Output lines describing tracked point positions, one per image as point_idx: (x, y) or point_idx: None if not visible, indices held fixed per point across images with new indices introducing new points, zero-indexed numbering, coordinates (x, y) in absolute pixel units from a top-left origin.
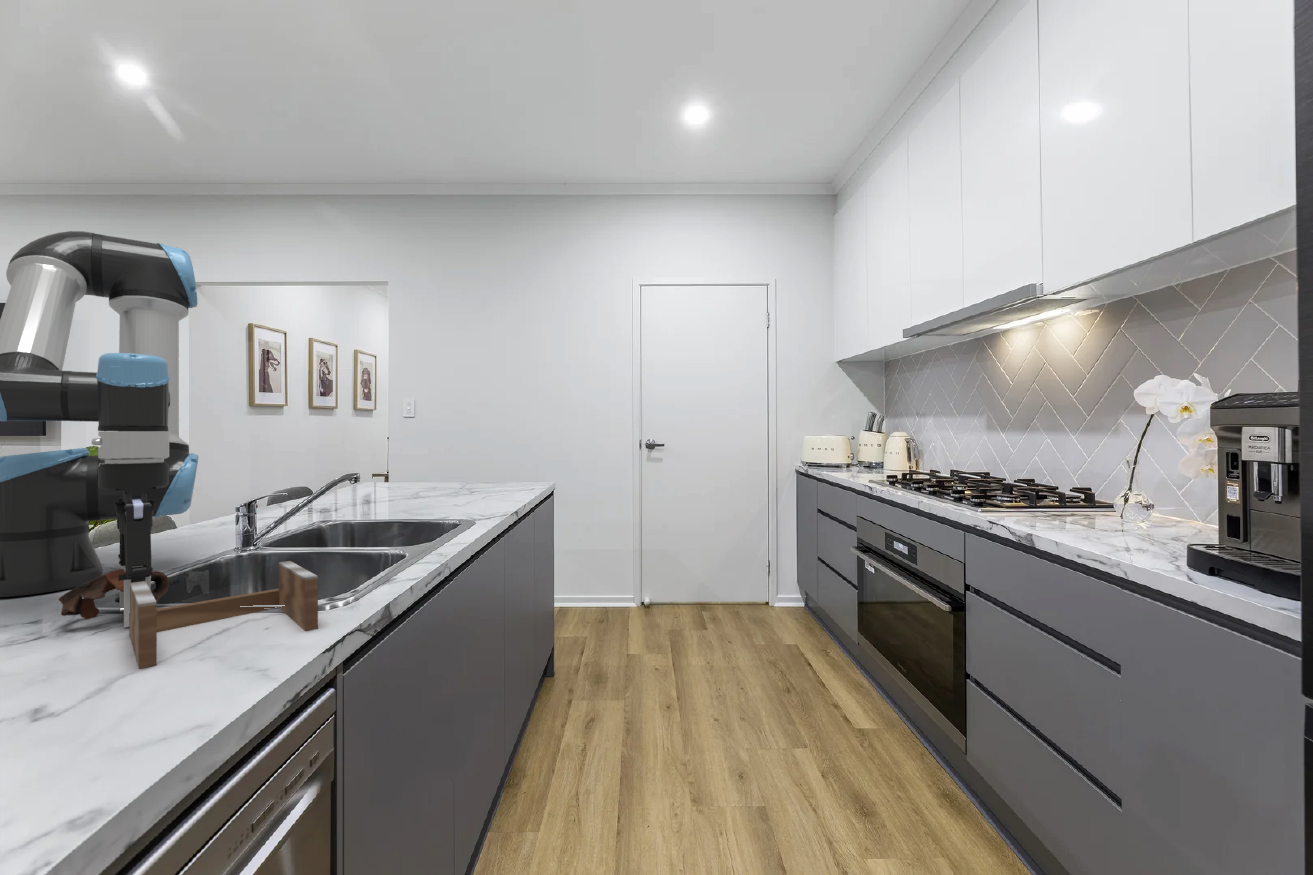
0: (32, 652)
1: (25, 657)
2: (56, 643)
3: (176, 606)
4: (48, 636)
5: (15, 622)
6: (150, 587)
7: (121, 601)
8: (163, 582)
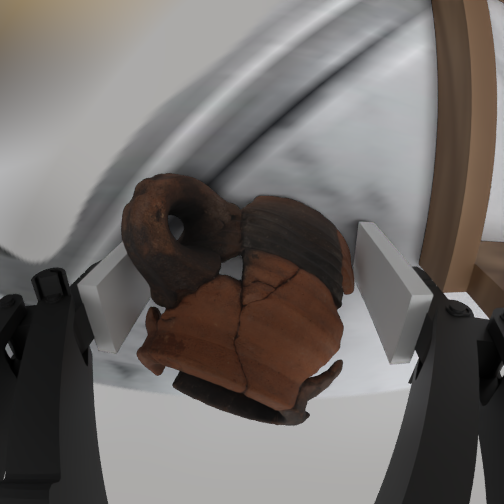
0: (370, 378)
1: (391, 381)
2: (343, 359)
3: (474, 193)
4: None
5: (111, 383)
6: (413, 271)
7: None
8: (180, 196)
